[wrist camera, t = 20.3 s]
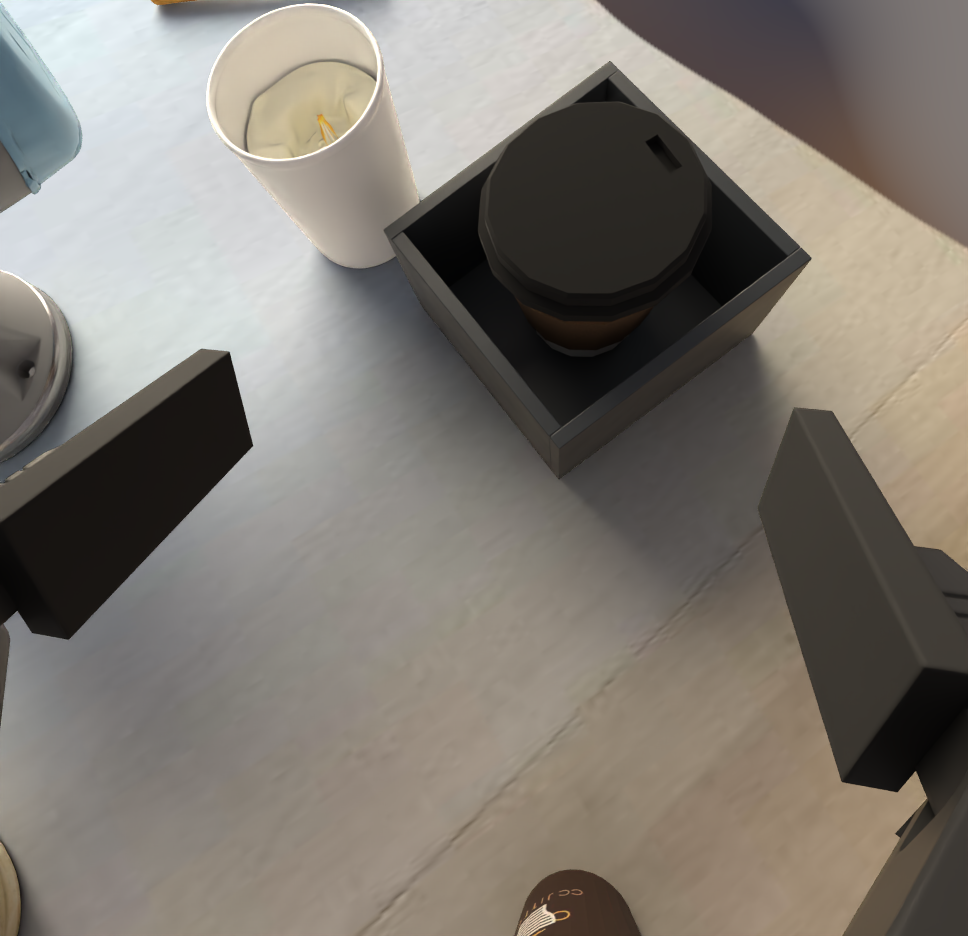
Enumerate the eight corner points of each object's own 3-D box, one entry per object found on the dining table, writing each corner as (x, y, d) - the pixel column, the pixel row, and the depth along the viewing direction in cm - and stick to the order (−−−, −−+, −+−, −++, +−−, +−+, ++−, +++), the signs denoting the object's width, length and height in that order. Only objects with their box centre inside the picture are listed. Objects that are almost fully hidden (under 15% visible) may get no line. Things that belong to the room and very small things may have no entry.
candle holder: (459, 197, 42) (420, 50, 30) (375, 304, 41) (302, 195, 29) (356, 136, 44) (282, -25, 32) (275, 236, 43) (169, 109, 31)
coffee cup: (610, 207, 39) (632, 49, 27) (704, 336, 37) (772, 224, 25) (470, 290, 39) (432, 168, 28) (553, 424, 37) (551, 353, 25)
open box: (420, 304, 41) (382, 229, 32) (599, 171, 41) (609, 60, 32) (558, 479, 37) (559, 449, 28) (753, 333, 37) (812, 257, 29)
